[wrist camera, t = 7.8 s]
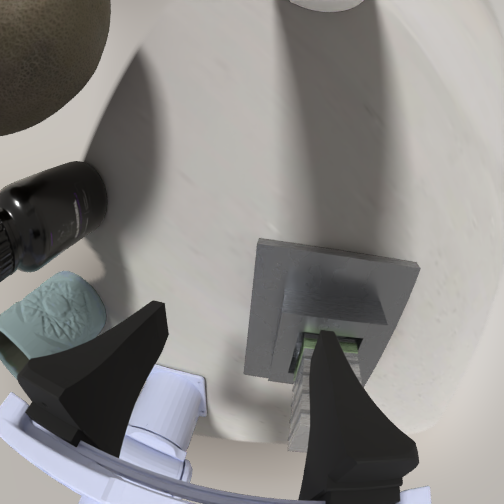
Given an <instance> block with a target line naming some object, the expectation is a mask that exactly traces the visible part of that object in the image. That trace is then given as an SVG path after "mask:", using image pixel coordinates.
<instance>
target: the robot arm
mask: <svg viewBox="0 0 504 504" xmlns="http://www.w3.org/2000/svg"><path fill="white" fill-rule="evenodd" d="M168 335H169V333H168V326H167V319H166V311H165V303H162V302H158V301H152V302H150V303H149V304H147V305H146V306H144V307H143V308H142V309H140V310H139V311H137V312H136V313H134V314H133V315H132V316H130V317H129V318H127V319H126V320H124V321H123V322H121V323H120V324H118V325H116V326H115V327H113V328H112V329H110V330H108V331H107V332H105V333H103V334H102V335H100V336H98V337H96V338H94V339H92V340H90V341H88V342H86V343H83V344H81V345H78V346H76V347H73V348H71V349H68V350H65V351H62V352H58V353H55V354H51V355H47V356H42V357H37V358H31V359H30V360H29V361H28V362H27V363H26V365H25V366H24V367H23V368H22V370H21V371H20V372H19V373H18V375H17V380H18V382H19V384H20V386H21V387H22V388H23V390H24V391H25V393H26V394H27V395H28V397H29V398H30V399H31V401H32V403H31V405H30V406H29V405H28V404H27V403H26V402H25V401H24V400H22V399H21V398H19V397H18V396H17V395H15V394H14V393H13V392H11V393H10V394H9V395H8V397H7V398H6V399H5V401H4V402H3V404H2V405H1V406H0V437H1V438H2V439H3V440H4V441H5V442H6V443H7V444H9V445H10V446H11V447H12V448H13V449H14V450H16V451H17V452H18V453H19V454H21V455H22V456H23V457H25V458H26V459H27V460H28V461H30V462H31V463H32V464H34V465H35V466H36V467H38V468H39V469H41V470H42V471H43V472H45V473H46V474H47V475H49V476H50V477H52V478H53V479H55V480H57V481H58V482H60V483H61V484H63V485H64V486H66V487H68V488H69V489H71V490H73V491H74V492H76V493H78V494H79V495H81V499H80V501H79V503H78V504H195V503H191V502H188V501H184V500H182V498H184V499H187V500H191V501H195V502H199V503H203V504H431V494H430V487H429V486H424V487H419V488H414V489H408V490H404V491H401V492H400V487H399V486H402V484H403V480H402V477H403V476H405V475H406V474H408V473H409V472H411V471H412V470H413V469H414V468H416V467H417V465H418V464H419V457H418V451H417V447H416V443H415V442H414V441H413V440H412V439H411V438H409V437H408V436H407V435H406V434H404V433H403V432H402V431H401V430H400V429H398V428H397V427H396V426H395V425H394V424H393V423H392V422H391V421H390V420H389V419H388V418H387V417H386V416H385V415H384V413H383V412H382V411H381V410H380V409H379V408H378V407H377V406H376V404H375V403H374V402H373V400H372V399H371V398H370V396H369V395H368V394H367V392H366V391H365V389H364V388H363V386H362V385H361V383H360V382H359V380H358V378H357V377H356V375H355V373H354V371H353V370H352V368H351V366H350V364H349V362H348V360H347V358H346V356H345V354H344V352H343V350H342V348H341V346H340V343H339V341H338V339H337V336H336V334H335V332H334V331H326V330H320V333H319V336H318V339H317V342H316V345H315V349H314V352H313V355H312V358H311V362H310V374H309V396H310V431H309V441H308V449H307V457H306V464H305V469H304V475H303V481H302V486H301V491H300V495H299V500H286V499H274V498H265V497H257V496H250V495H243V494H237V493H232V492H226V491H221V490H216V489H212V488H207V487H203V486H199V485H195V484H191V483H190V481H191V477H192V467H191V464H190V461H189V460H186V459H185V457H186V454H187V453H186V452H185V451H186V450H187V448H188V446H189V444H190V441H191V438H192V435H193V432H194V429H195V426H196V423H197V420H198V417H199V416H203V417H205V416H206V415H207V408H206V394H205V379H204V378H203V377H202V376H198V375H194V374H190V373H186V372H182V371H178V370H174V369H170V368H167V367H163V366H160V365H156V364H155V363H156V362H157V360H158V358H159V356H160V354H161V353H162V350H163V348H164V345H165V343H166V340H167V337H168ZM145 381H147V382H146V384H145V386H144V388H143V390H142V392H141V394H140V396H139V393H140V391H141V389H142V387H143V385H144V383H145ZM138 396H139V397H138ZM137 398H138V399H137Z"/></svg>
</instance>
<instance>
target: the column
mask: <svg viewBox="0 0 504 504" xmlns="http://www.w3.org/2000/svg"><path fill="white" fill-rule="evenodd" d="M318 336H319V335H313V334H304V338H303V341H302V345H301V349H300V352H299V355H298V359H297V362H296V366H295V370H294V379H293V381H294V387H293V400H292V404H291V407H292V412H291V419H290V432H289V437H288V441H289V442H288V451H295V452H307V449H308V441H309V431H310V396H309V374H310V362H311V358H312V355H313V352H314V349H315V345H316V342H317V339H318ZM337 339H338V341H339V343H340V346H341V348H342V350H343V352H344V354H345V356H346V358H347V360H348V362H349V364H350V366H351V368H352V370H353V371H354V373H355V375H356V377H357V378H358V380H359V382H360V383H361V381H362V377H360V369H359V365H360V363H359V361H358V355H357V354H358V350H357V343H355V339H348V338H339V337H337ZM361 385H362V384H361Z"/></svg>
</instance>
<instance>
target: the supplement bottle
mask: <svg viewBox="0 0 504 504" xmlns="http://www.w3.org/2000/svg"><path fill="white" fill-rule="evenodd" d="M106 210H107V194H106V189H105V186H104V183H103V181H102V179H101V177H100V176H99V174H98V173H97V172H96V170H95V169H94V168H92V167H91V166H90V165H88V164H86V163H84V162H79V161H74V162H69V163H66V164H63V165H60V166H57V167H54V168H51V169H48V170H45V171H42V172H40V173H37V174H34V175H32V176H29V177H26V178H24V179H21V180H19V181H16V182H14V183H11V184H9V185H7V186H5V187H4V188H3V189H2V190H1V191H0V282H1V281H2V280H4V279H5V278H6V277H8V276H9V275H12V274H13V273H14V272H15V271H16V270H17V269H18V270H20V271H24V272H34V271H37V270H39V269H40V268H42V267H43V266H44V265H46V264H47V263H49V262H50V261H51V260H52V259H54V258H55V257H57V256H58V255H59V254H60V253H62V252H63V251H65V250H66V249H68V248H69V247H70V246H72V245H73V244H75V243H76V242H77V241H79V240H80V239H82V238H83V237H85V236H86V235H88V234H89V233H90V232H92V231H93V230H95V229H96V228H97V227H98V226H99V225H100V224H101V222H102V221H103V219H104V217H105V214H106Z"/></svg>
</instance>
